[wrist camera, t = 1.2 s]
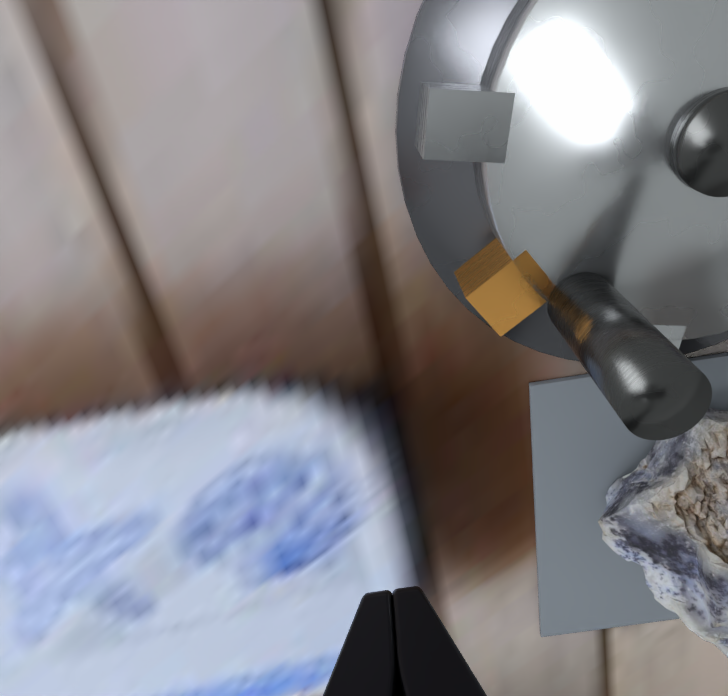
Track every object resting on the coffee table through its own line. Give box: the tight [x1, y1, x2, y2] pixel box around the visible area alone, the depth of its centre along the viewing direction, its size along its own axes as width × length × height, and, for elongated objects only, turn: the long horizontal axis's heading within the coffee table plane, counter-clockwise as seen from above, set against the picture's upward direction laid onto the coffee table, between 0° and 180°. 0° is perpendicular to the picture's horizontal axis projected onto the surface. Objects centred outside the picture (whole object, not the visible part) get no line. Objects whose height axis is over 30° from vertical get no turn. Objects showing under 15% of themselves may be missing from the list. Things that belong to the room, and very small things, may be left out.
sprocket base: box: [395, 0, 728, 361], centre depth 16 cm, size 15×15×4 cm
